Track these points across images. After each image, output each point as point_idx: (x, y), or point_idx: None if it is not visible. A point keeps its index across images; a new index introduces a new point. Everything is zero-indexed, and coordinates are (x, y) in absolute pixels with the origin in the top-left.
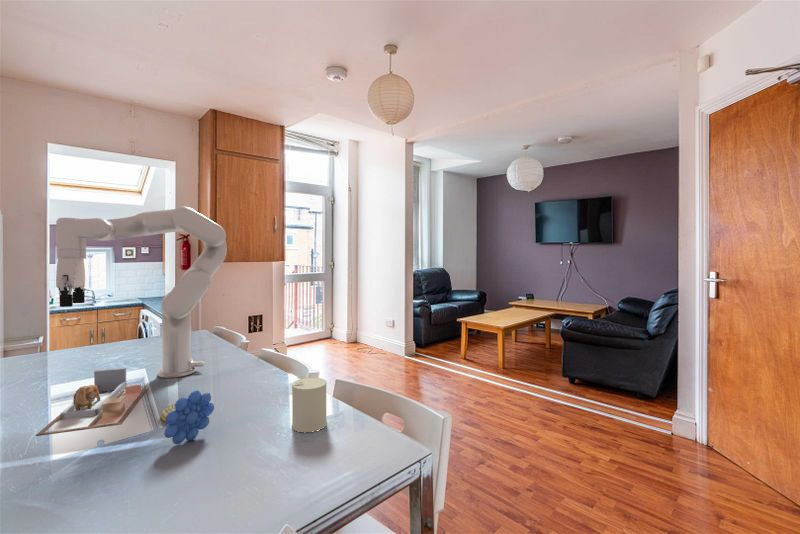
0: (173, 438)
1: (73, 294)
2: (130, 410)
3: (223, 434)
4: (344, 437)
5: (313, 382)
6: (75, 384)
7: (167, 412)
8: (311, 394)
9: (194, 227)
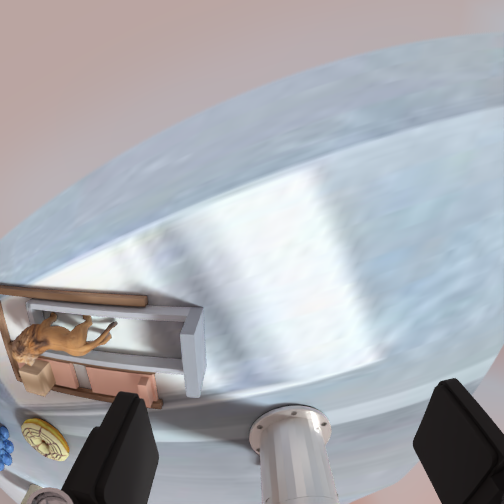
0: None
1: (478, 448)
2: (53, 390)
3: (19, 449)
4: None
5: None
6: (292, 232)
7: (25, 428)
8: None
9: None
